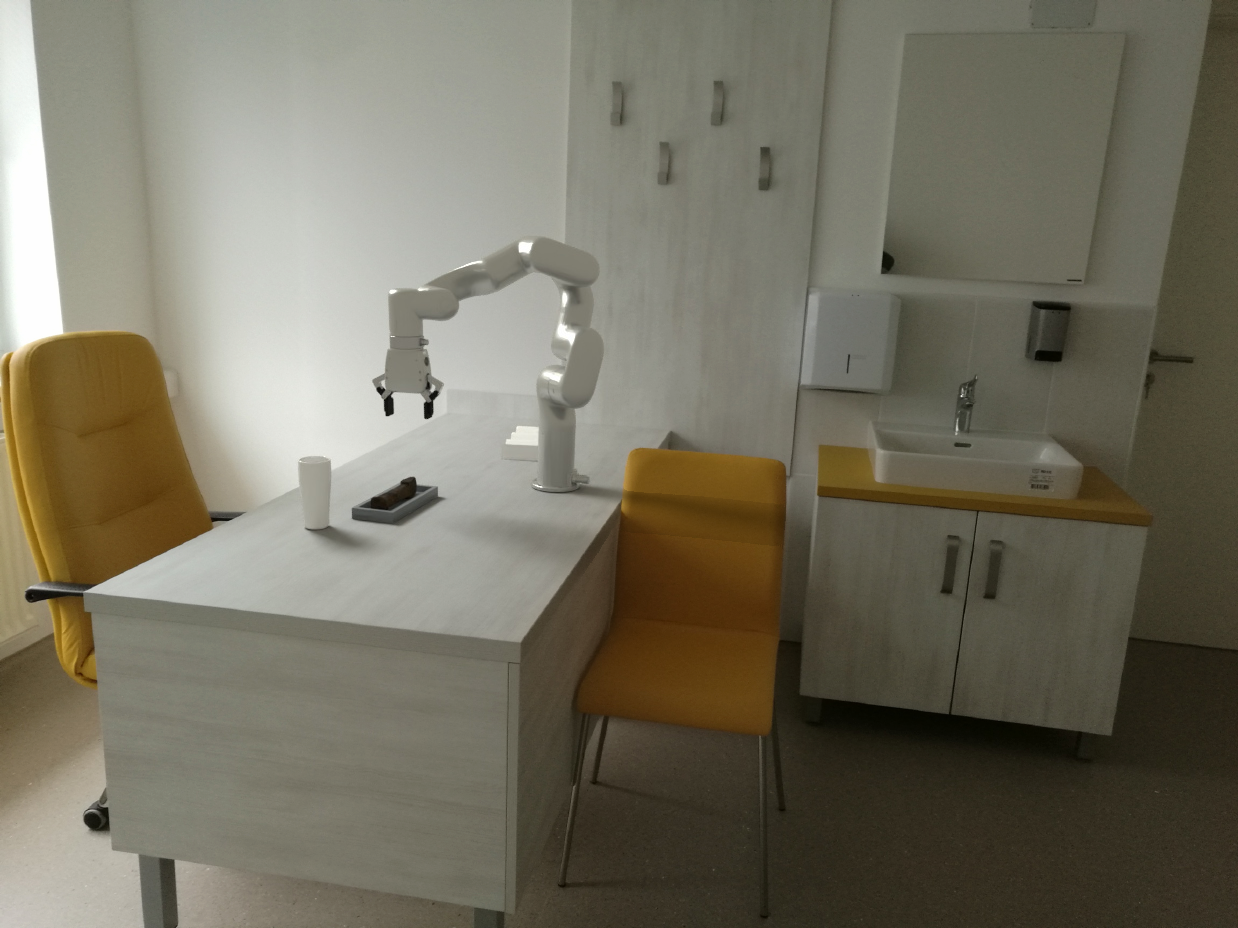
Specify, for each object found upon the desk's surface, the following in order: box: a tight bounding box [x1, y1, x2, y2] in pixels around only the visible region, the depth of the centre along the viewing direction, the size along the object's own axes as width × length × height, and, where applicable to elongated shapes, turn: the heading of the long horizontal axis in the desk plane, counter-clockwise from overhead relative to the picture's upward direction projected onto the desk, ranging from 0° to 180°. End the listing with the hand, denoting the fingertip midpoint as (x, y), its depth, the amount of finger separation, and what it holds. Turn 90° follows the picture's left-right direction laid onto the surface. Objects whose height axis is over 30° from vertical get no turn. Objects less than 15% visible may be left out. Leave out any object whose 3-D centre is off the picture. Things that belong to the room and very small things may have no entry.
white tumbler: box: [297, 455, 332, 531], centre depth 201 cm, size 7×7×15 cm
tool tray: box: [351, 482, 439, 524], centre depth 220 cm, size 10×24×2 cm, turn 167°
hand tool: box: [370, 476, 418, 510], centre depth 219 cm, size 19×4×5 cm, turn 163°
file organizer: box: [500, 425, 539, 462], centre depth 287 cm, size 13×35×5 cm, turn 177°
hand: (408, 416), depth 218 cm, fingers open, 9 cm apart
